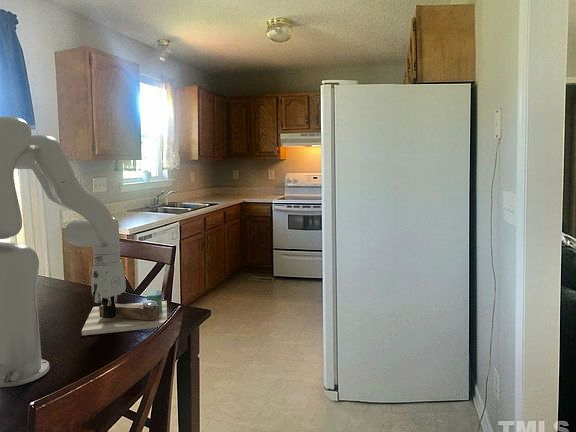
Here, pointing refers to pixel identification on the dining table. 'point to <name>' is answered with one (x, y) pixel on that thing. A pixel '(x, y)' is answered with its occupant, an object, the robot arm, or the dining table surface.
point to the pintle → (149, 304)
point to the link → (134, 312)
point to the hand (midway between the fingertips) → (109, 317)
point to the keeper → (156, 298)
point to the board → (120, 322)
